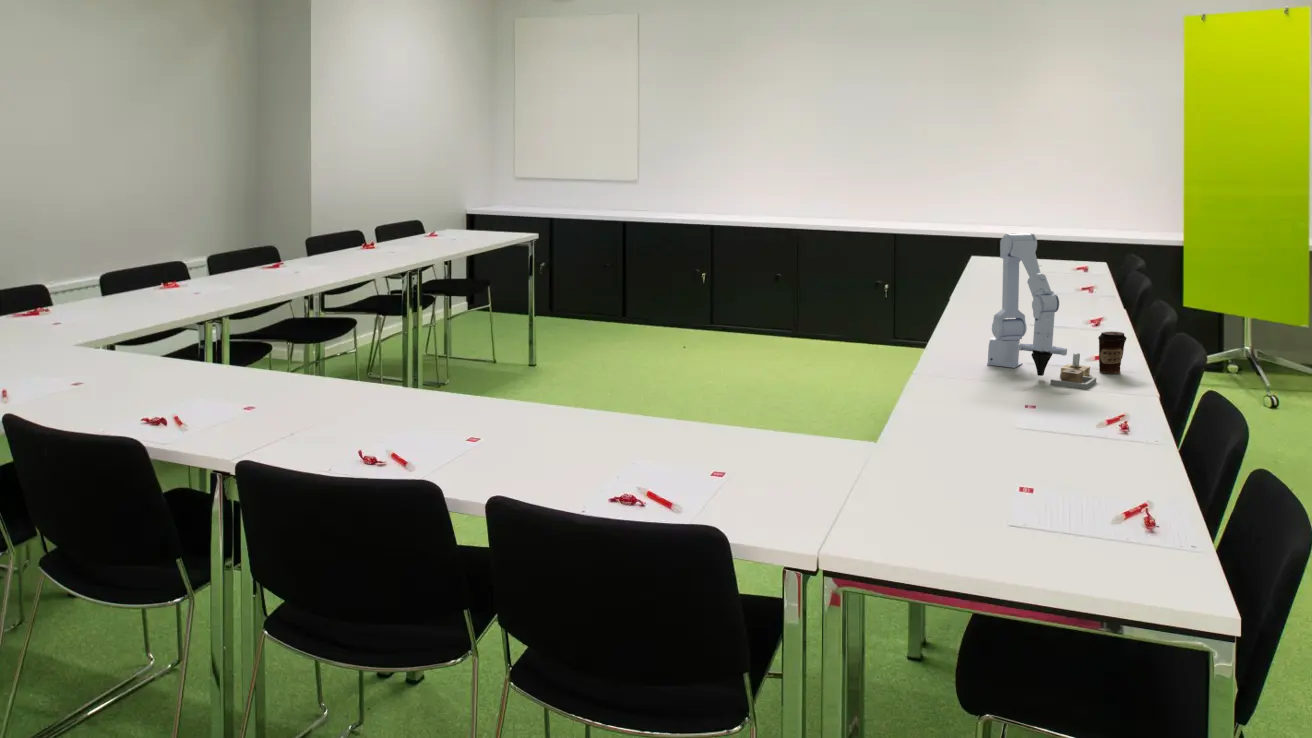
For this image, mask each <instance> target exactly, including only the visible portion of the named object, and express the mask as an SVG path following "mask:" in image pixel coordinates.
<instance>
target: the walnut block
mask: <svg viewBox="0 0 1312 738" xmlns="http://www.w3.org/2000/svg"><path fill="white" fill-rule="evenodd" d="M1060 374H1061V379H1060V380H1061V381H1069V382H1077V383H1083V381H1082V380H1083V371H1080V370H1072V369H1066V370H1064V371H1062V373H1061V372H1060Z"/></svg>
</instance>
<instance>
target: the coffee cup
mask: <svg viewBox="0 0 1312 738" xmlns="http://www.w3.org/2000/svg"><path fill="white" fill-rule="evenodd" d="M1097 339H1098V367H1099V369H1098V370H1099V373H1102V374H1109V375H1110V374H1111V375H1113V374H1114V375H1115V374H1116V375H1117V374H1121V365H1122V359H1123V357H1124V350H1125V344H1126V341H1127V337H1126V336H1125V333H1124V332H1122V331H1121V332H1119V331H1105V332H1101V333H1100V335H1099V336H1098V338H1097Z"/></svg>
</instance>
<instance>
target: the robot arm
mask: <svg viewBox="0 0 1312 738" xmlns="http://www.w3.org/2000/svg"><path fill="white" fill-rule="evenodd" d="M999 242H1000V243H999V245H1000V247H999V249H1000V250H999V253H1000V255H999V258H1000V259H1002V293H1001V294H1002V297H1001V299H1002V300H1001V301H1002V302H1001V303H1002V304H1001V310H999V311H998V312H996V313H995V314H994V315H993V322H992V324H991V332H992V335H993V336H994V337H991V338H990V340H989V343H988V350H987V352H988V353H987V363H986V365H988V366H995V367H996V366H998V367H1005V368H1012V369H1014V368H1017V367H1020V366H1021V365H1022V364H1023V362H1021V361H1019V356H1020V351H1027V352H1032V353H1031V357H1032V360H1033V362H1034V366H1035V369H1036V374H1037V376H1040V377H1042V376H1044V374H1045V371H1046V367H1047V365H1048V363H1049V361H1050V360H1051V358H1052V356H1053V355H1060V356H1067V354H1068V348H1066V347H1060V346H1054V345H1053V344H1054V343H1053V342H1054V341H1053V340H1054V328H1055V326H1054V325H1055V316H1056V315H1055V313H1057V312H1058V311H1059V308H1060V298H1059V296H1058V294H1057V293H1055V292H1054V291H1052V289H1051V287H1050V285H1049V281H1048V279H1047V277H1046V276H1047V275H1046V274H1044V273H1041V270H1040V265H1039V262H1038V258H1037V254H1036V251H1037V249H1038V240H1037V236H1036V235H1035V234H1034V233H1033V232H1029V233H1005V234H1004V235H1003V236H1002V238H1001V239H1000V241H999ZM1020 262H1022V265H1023V267H1024V269H1025V270H1026V273H1027V275H1028V279H1027V284H1028V287H1029V292H1030V293H1031V296H1032V298H1033V299H1032V302H1031V309H1032V317H1033V318H1034V323H1033V324H1034V327H1033V340H1032V343H1020V342H1021V340H1023V337H1024V336H1025V335H1026V333H1027V329H1028V328H1027V323H1026V315H1025V314H1024V313H1023V312H1022V311H1021V310H1020V309H1019V293H1020V291H1019V290H1020Z"/></svg>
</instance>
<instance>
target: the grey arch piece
mask: <svg viewBox="0 0 1312 738" xmlns="http://www.w3.org/2000/svg"><path fill="white" fill-rule="evenodd" d="M1059 379H1060V380H1059ZM1059 379H1050V383H1049V385H1051V386H1057V387H1058V386H1061V387H1066V388H1074V389H1075V388H1076V389H1081V388H1082V390H1088V389H1089V388H1090V387H1092V386H1093V385H1095V384H1096V383H1097V379H1098V378H1097V377H1093V376H1083V380H1082V383H1077V382H1069V381H1061V373H1060V374H1059ZM1084 381H1085V382H1084ZM1083 382H1084V383H1083Z"/></svg>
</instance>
